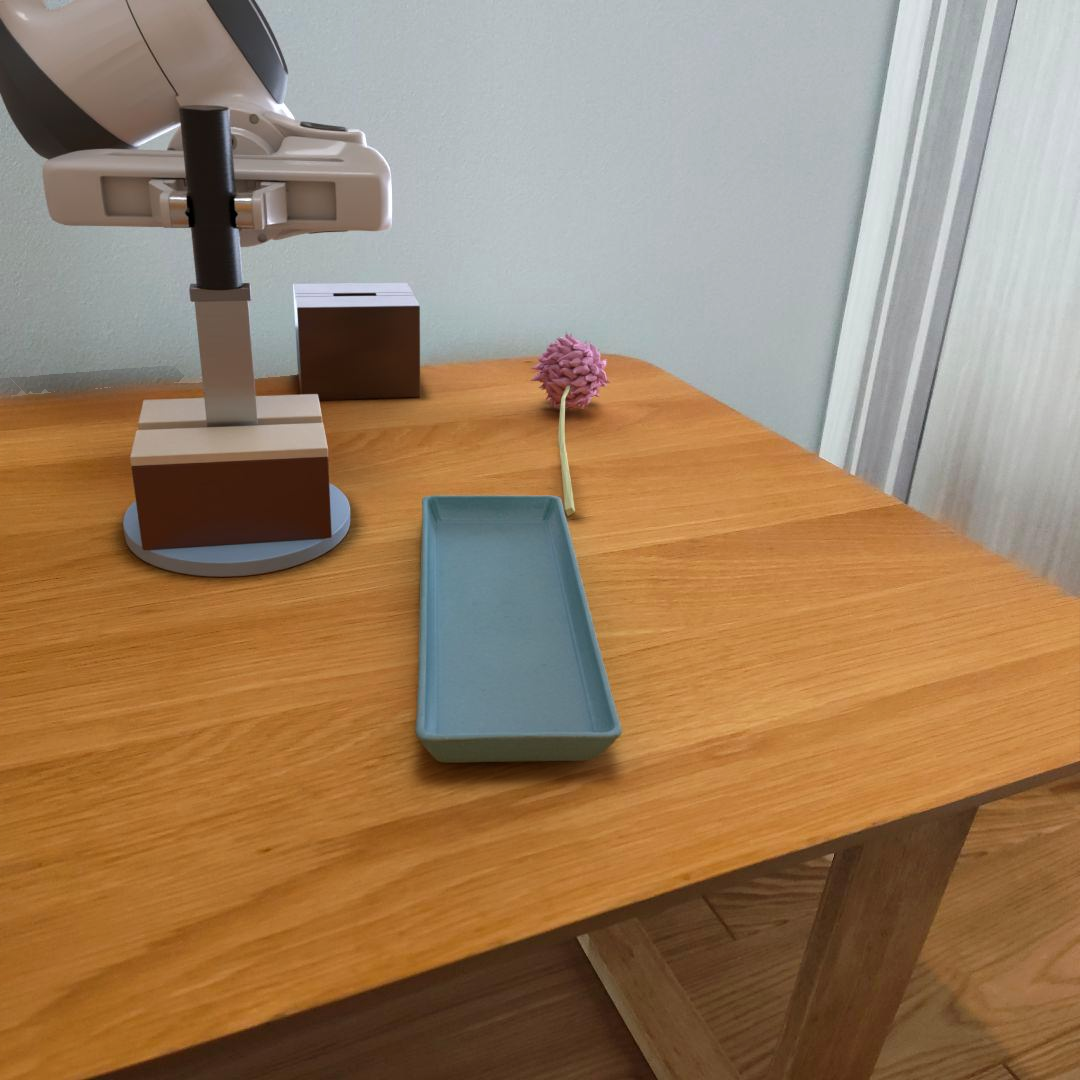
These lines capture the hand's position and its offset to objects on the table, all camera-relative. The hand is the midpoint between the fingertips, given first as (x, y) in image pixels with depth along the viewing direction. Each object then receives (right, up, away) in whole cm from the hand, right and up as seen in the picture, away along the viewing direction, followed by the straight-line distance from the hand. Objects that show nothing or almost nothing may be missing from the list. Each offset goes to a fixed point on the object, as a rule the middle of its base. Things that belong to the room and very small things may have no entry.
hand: (212, 213), depth 59 cm
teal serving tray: (+16, -23, 0) cm, 28 cm away
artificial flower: (+21, -11, +24) cm, 34 cm away
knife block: (+2, -4, +35) cm, 36 cm away
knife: (-1, -15, +8) cm, 17 cm away
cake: (-1, -17, +10) cm, 20 cm away
